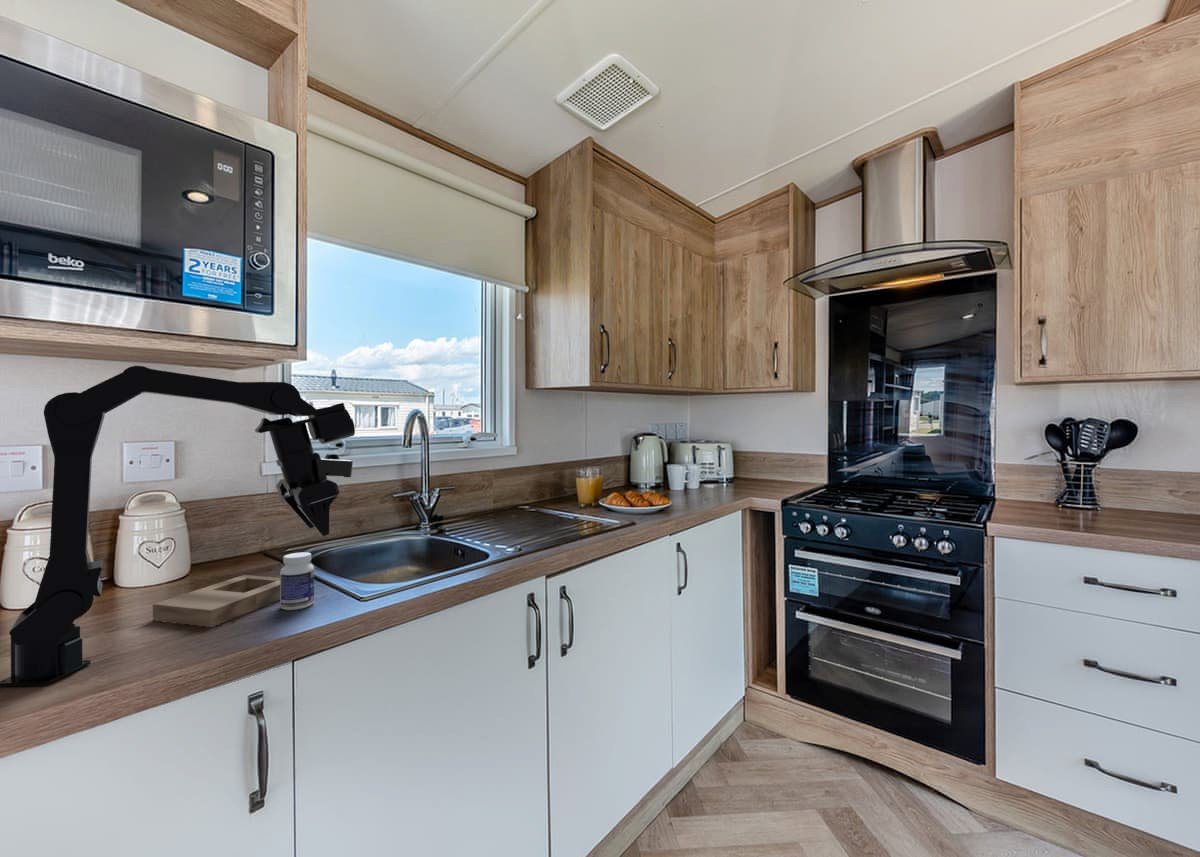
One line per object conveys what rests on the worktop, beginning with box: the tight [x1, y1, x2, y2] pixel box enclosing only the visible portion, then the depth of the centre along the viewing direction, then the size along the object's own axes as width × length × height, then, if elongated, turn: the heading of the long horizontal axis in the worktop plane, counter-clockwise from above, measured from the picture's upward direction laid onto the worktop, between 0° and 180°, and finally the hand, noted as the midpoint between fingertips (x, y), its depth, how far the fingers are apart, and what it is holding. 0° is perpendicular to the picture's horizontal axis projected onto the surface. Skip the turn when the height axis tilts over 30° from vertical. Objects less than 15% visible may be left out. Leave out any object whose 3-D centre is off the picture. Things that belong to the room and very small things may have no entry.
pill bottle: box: [279, 551, 315, 611], centre depth 98 cm, size 6×6×10 cm
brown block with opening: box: [152, 574, 280, 628], centre depth 97 cm, size 18×13×3 cm
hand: (319, 531), depth 94 cm, fingers open, 9 cm apart
